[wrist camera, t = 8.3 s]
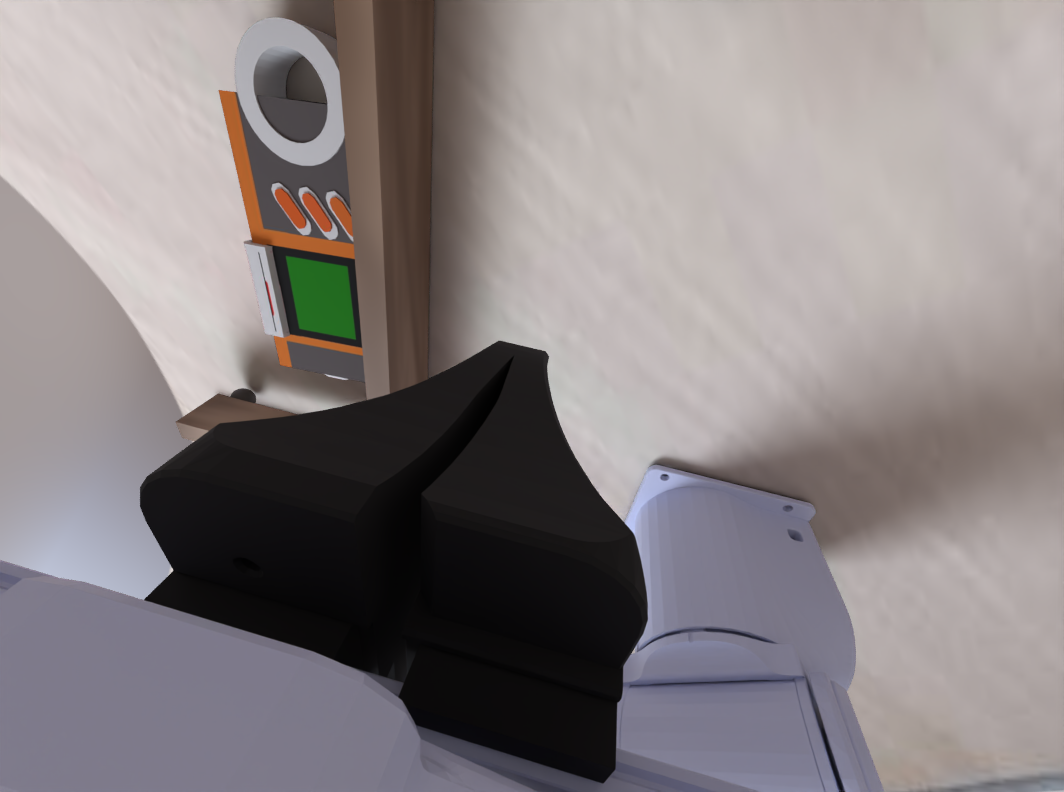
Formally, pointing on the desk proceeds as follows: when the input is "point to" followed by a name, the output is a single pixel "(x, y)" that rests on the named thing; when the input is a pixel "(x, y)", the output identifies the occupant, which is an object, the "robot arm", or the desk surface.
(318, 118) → the electronic device
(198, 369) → the desk surface
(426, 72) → the dolly
